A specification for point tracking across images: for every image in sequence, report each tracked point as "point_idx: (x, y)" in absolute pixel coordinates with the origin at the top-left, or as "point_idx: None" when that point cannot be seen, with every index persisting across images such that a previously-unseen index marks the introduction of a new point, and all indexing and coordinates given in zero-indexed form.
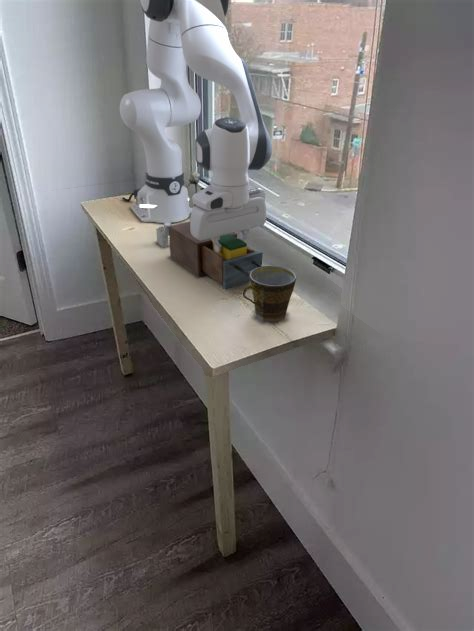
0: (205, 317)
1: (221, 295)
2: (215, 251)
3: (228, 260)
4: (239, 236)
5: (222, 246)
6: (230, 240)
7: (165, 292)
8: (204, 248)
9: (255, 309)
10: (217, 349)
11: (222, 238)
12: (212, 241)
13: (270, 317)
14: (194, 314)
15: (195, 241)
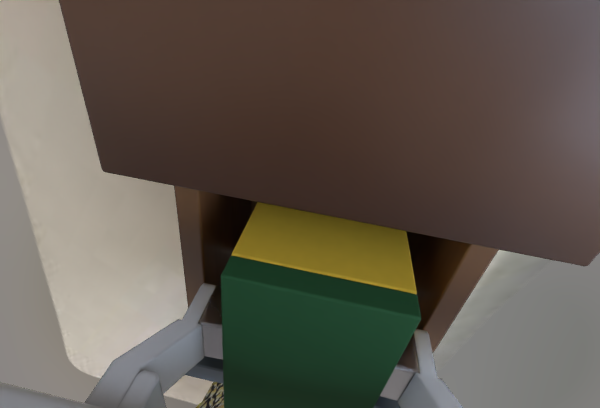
0: (117, 291)
1: None
2: (206, 284)
3: (201, 373)
4: (424, 390)
5: (221, 353)
6: (304, 378)
7: (36, 103)
8: (175, 194)
9: (213, 382)
10: (96, 357)
11: (283, 328)
12: (147, 342)
13: None
14: (95, 266)
15: (100, 120)
